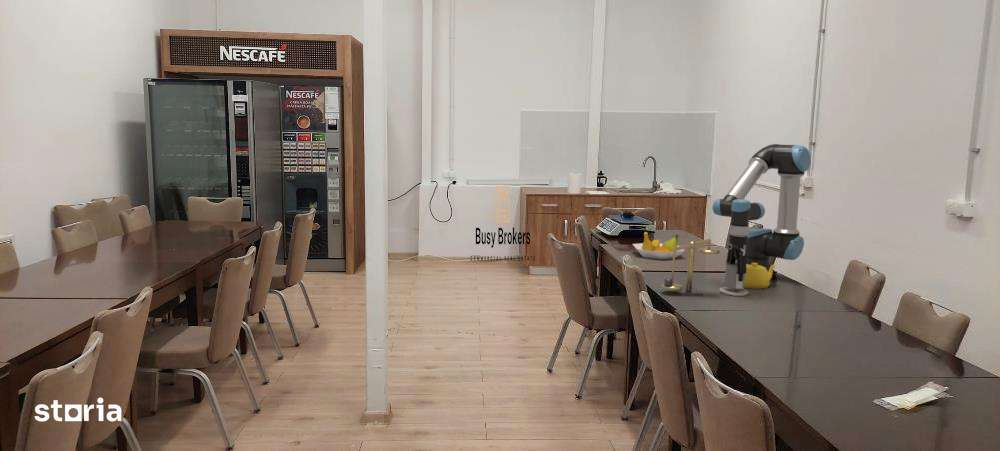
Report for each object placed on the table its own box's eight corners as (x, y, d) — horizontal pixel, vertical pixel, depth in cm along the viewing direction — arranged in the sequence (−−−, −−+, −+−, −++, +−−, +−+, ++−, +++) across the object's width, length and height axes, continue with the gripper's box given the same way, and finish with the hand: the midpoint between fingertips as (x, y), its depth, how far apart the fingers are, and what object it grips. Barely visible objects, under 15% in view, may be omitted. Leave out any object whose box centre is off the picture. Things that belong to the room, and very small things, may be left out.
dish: (740, 289, 319) (741, 287, 318) (752, 296, 307) (753, 293, 307) (715, 289, 317) (715, 286, 317) (726, 296, 306) (726, 293, 305)
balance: (711, 290, 315) (715, 237, 311) (719, 296, 306) (723, 240, 302) (658, 290, 312) (661, 236, 308) (664, 295, 303) (668, 240, 300)
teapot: (765, 281, 337) (767, 259, 335) (782, 289, 322) (784, 266, 320) (721, 281, 335) (723, 258, 333) (735, 289, 320) (737, 265, 318)
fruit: (687, 262, 377) (689, 235, 375) (638, 260, 377) (640, 234, 375) (674, 251, 407) (676, 226, 404) (629, 250, 407) (630, 225, 405)
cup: (745, 289, 307) (747, 267, 305) (725, 288, 308) (727, 265, 307) (742, 285, 315) (744, 263, 313) (723, 283, 317) (725, 261, 315)
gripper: (720, 231, 318) (716, 280, 322) (740, 239, 297) (736, 291, 301) (736, 231, 319) (732, 280, 322) (757, 239, 298) (753, 291, 302)
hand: (734, 285), depth 312 cm, fingers closed on cup, 8 cm apart
